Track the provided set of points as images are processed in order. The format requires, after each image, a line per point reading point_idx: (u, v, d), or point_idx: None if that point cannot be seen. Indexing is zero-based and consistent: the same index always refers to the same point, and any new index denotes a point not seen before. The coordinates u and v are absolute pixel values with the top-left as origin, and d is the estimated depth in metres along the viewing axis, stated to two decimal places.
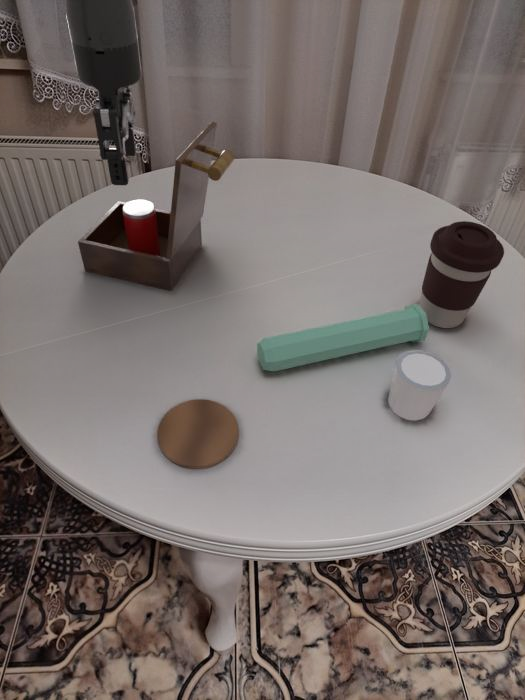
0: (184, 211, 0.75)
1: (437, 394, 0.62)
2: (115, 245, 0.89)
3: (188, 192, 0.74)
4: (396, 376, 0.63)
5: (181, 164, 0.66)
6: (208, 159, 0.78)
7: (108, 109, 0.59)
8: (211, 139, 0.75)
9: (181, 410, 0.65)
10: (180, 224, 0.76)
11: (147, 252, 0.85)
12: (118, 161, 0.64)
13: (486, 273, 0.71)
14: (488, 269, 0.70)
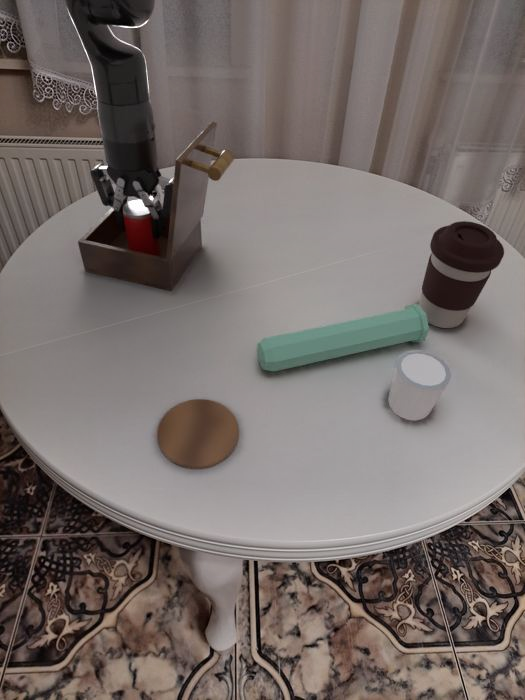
0: (184, 211, 0.75)
1: (437, 394, 0.62)
2: (115, 245, 0.89)
3: (188, 192, 0.74)
4: (396, 376, 0.63)
5: (181, 164, 0.66)
6: (208, 159, 0.78)
7: None
8: (211, 139, 0.75)
9: (181, 410, 0.65)
10: (180, 224, 0.76)
11: (147, 252, 0.85)
12: None
13: (486, 273, 0.71)
14: (488, 269, 0.70)
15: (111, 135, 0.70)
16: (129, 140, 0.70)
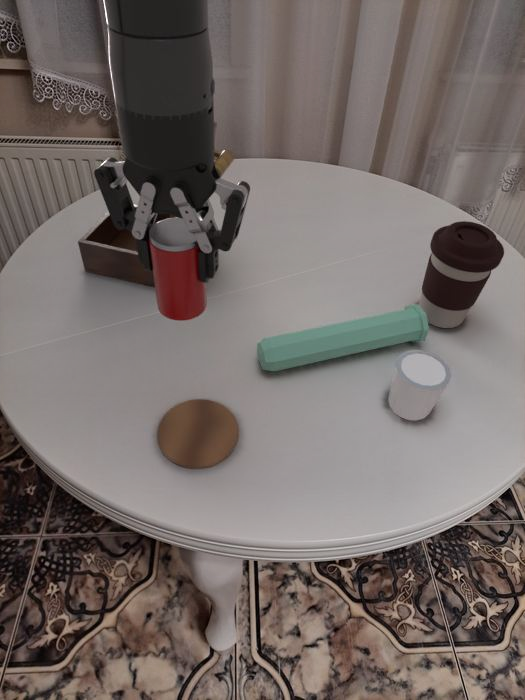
0: None
1: (437, 394, 0.62)
2: (115, 245, 0.89)
3: None
4: (396, 376, 0.63)
5: None
6: None
7: (245, 187, 0.43)
8: None
9: (181, 410, 0.65)
10: None
11: (188, 304, 0.51)
12: None
13: (486, 273, 0.71)
14: (488, 269, 0.70)
15: (136, 101, 0.36)
16: (170, 111, 0.37)
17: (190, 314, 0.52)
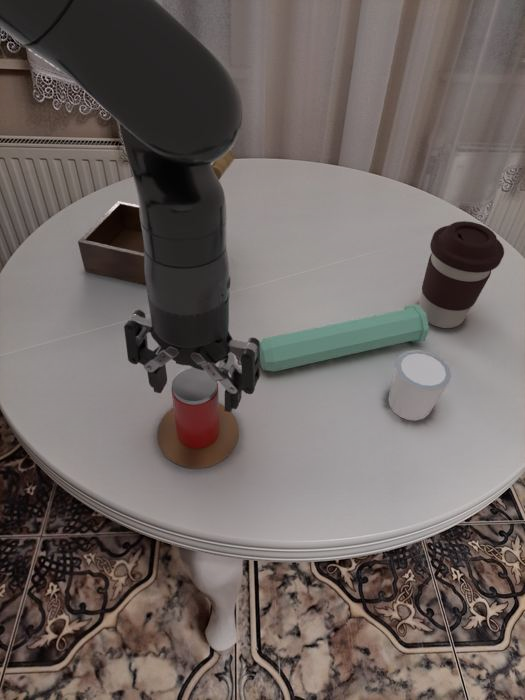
0: None
1: (437, 394, 0.62)
2: (115, 245, 0.89)
3: None
4: (396, 376, 0.63)
5: None
6: None
7: (254, 343, 0.50)
8: None
9: None
10: None
11: (204, 437, 0.60)
12: None
13: (486, 273, 0.71)
14: (488, 269, 0.70)
15: (166, 304, 0.44)
16: (194, 311, 0.44)
17: (205, 444, 0.61)
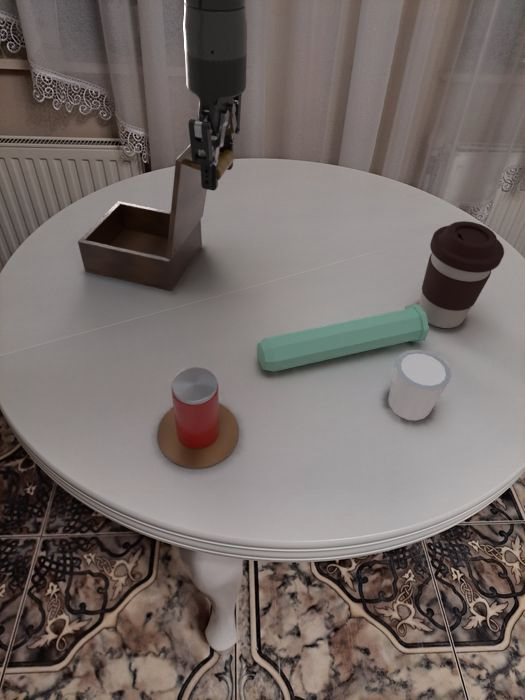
0: (184, 211, 0.75)
1: (437, 394, 0.62)
2: (115, 245, 0.89)
3: (188, 192, 0.74)
4: (396, 376, 0.63)
5: (181, 164, 0.66)
6: None
7: None
8: (211, 139, 0.75)
9: None
10: (180, 224, 0.76)
11: (204, 437, 0.60)
12: None
13: (486, 273, 0.71)
14: (488, 269, 0.70)
15: (243, 48, 0.60)
16: None
17: (205, 444, 0.61)
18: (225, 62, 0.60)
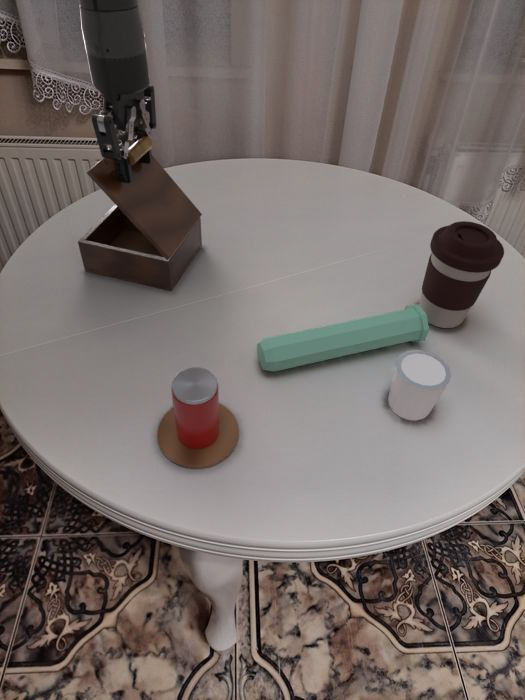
0: (149, 212, 0.77)
1: (437, 394, 0.62)
2: (115, 245, 0.89)
3: (137, 194, 0.77)
4: (396, 376, 0.63)
5: (91, 172, 0.71)
6: (151, 164, 0.81)
7: None
8: None
9: None
10: (153, 224, 0.77)
11: (204, 437, 0.60)
12: None
13: (486, 273, 0.71)
14: (488, 269, 0.70)
15: (139, 46, 0.64)
16: (145, 45, 0.66)
17: (205, 444, 0.61)
18: (121, 60, 0.63)
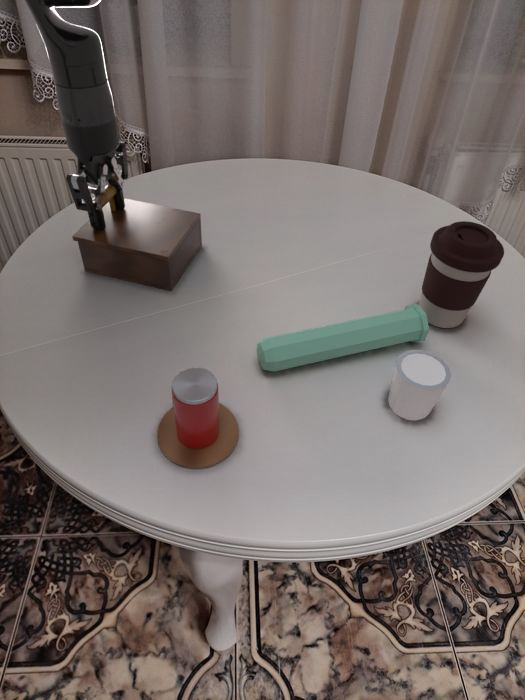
0: (138, 235, 0.81)
1: (437, 394, 0.62)
2: None
3: (124, 230, 0.82)
4: (396, 376, 0.63)
5: (74, 236, 0.80)
6: (135, 205, 0.88)
7: None
8: None
9: None
10: (144, 241, 0.80)
11: (204, 437, 0.60)
12: None
13: (486, 273, 0.71)
14: (488, 269, 0.70)
15: (108, 115, 0.71)
16: (114, 112, 0.73)
17: (205, 444, 0.61)
18: (92, 127, 0.70)
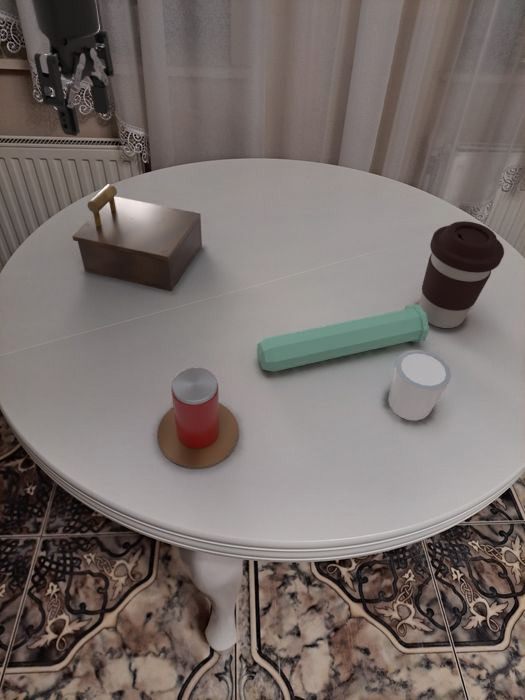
0: (138, 235, 0.81)
1: (437, 394, 0.62)
2: None
3: (124, 230, 0.82)
4: (396, 376, 0.63)
5: (74, 236, 0.80)
6: (135, 205, 0.88)
7: None
8: (118, 202, 0.88)
9: None
10: (144, 241, 0.80)
11: (204, 437, 0.60)
12: None
13: (486, 273, 0.71)
14: (488, 269, 0.70)
15: None
16: None
17: (205, 444, 0.61)
18: None
